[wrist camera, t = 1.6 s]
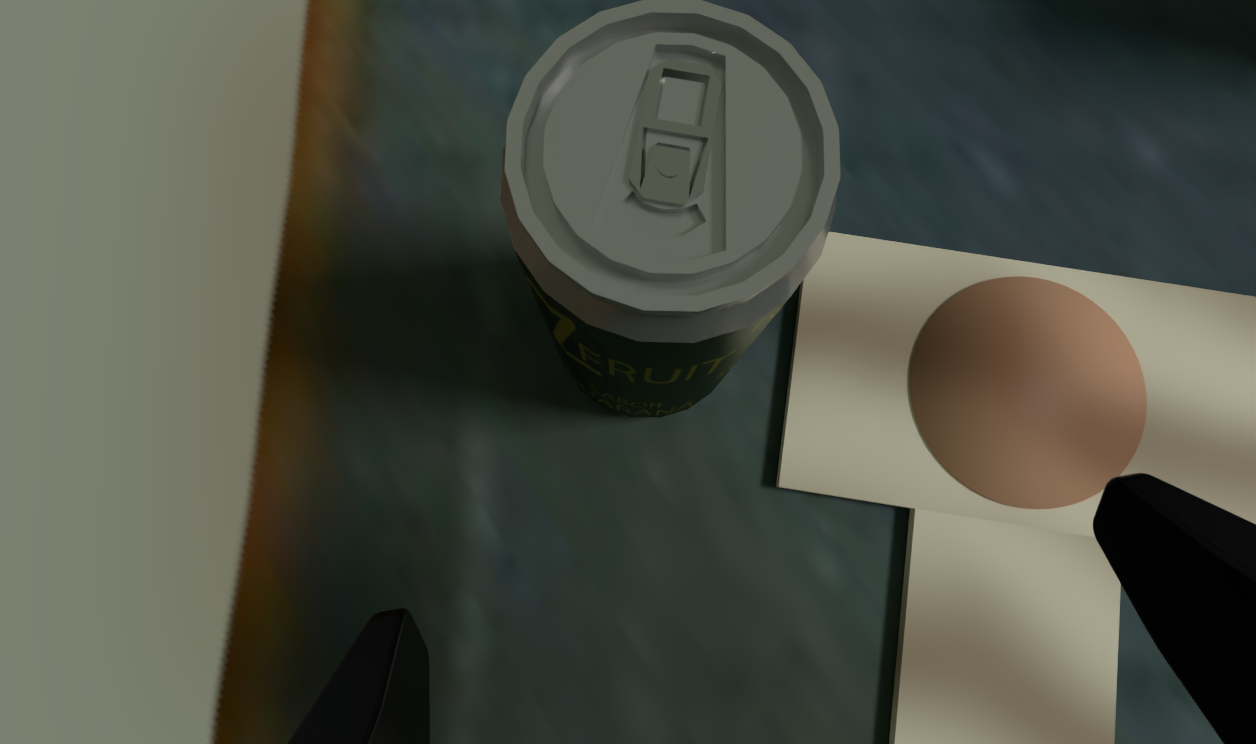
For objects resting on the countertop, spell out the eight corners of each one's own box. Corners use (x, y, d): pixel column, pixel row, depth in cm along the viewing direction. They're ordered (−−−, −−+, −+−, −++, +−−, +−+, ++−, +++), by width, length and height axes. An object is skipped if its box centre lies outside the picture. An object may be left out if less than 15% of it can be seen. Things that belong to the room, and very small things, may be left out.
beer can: (576, 236, 23) (529, -42, 11) (745, 266, 23) (877, 15, 11) (543, 403, 22) (451, 292, 10) (718, 435, 22) (832, 359, 10)
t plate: (1245, 940, 20) (1262, 951, 19) (731, 853, 20) (733, 862, 19) (1252, 301, 23) (1266, 297, 22) (806, 233, 23) (810, 227, 23)
